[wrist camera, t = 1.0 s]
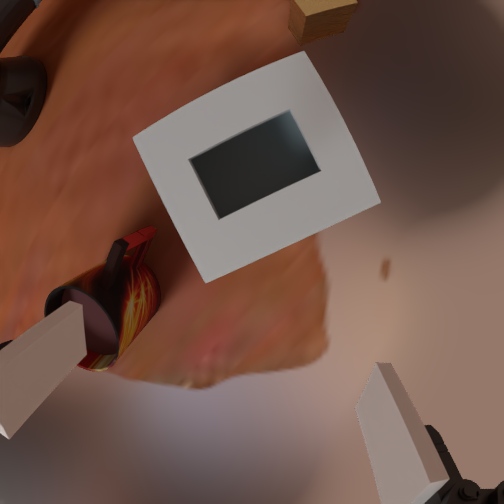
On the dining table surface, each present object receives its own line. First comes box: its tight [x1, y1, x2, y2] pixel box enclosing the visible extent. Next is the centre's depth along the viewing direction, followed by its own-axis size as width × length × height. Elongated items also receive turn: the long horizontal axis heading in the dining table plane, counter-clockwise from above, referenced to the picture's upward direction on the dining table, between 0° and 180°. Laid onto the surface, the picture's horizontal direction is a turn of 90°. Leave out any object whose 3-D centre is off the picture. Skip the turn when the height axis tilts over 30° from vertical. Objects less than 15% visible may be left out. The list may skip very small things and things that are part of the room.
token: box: [288, 0, 358, 46], centre depth 24 cm, size 3×6×8 cm, turn 117°
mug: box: [44, 225, 161, 371], centre depth 31 cm, size 10×14×12 cm
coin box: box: [133, 51, 381, 283], centre depth 28 cm, size 14×16×10 cm
